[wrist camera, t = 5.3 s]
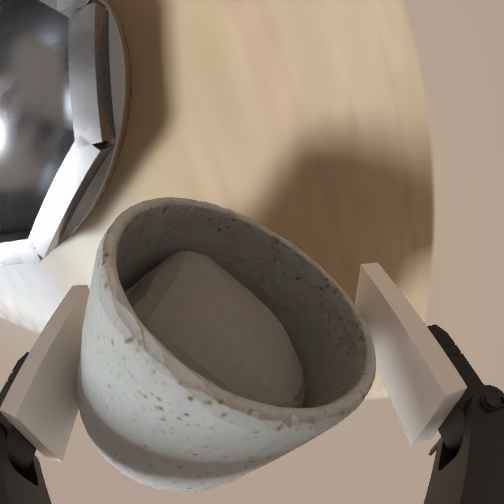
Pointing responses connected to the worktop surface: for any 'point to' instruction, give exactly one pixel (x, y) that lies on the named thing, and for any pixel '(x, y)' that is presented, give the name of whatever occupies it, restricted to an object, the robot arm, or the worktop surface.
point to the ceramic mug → (212, 347)
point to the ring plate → (57, 118)
